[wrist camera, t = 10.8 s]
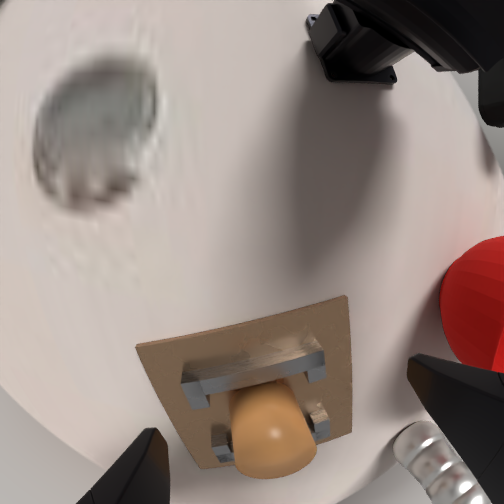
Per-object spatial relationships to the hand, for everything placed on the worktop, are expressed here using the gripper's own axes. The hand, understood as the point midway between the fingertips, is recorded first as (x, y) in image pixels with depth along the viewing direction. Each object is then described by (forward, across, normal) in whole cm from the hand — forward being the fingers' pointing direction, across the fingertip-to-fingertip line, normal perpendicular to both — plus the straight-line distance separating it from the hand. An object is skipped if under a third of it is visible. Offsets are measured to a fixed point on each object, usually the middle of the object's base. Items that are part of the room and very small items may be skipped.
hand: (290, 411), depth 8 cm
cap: (+11, +1, +10) cm, 15 cm away
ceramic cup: (+12, -22, +8) cm, 26 cm away
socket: (+11, +1, +10) cm, 15 cm away
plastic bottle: (+12, -15, +25) cm, 32 cm away
